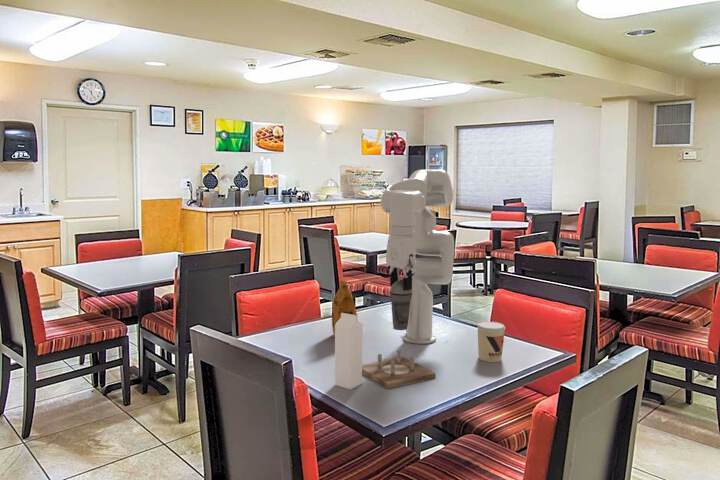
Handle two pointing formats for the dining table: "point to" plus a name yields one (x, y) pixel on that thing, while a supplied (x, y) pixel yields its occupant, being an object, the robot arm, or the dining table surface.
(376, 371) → the cup stand
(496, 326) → the coffee cup
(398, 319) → the beverage cup
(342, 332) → the milk
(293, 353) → the dining table surface
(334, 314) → the coffee package
